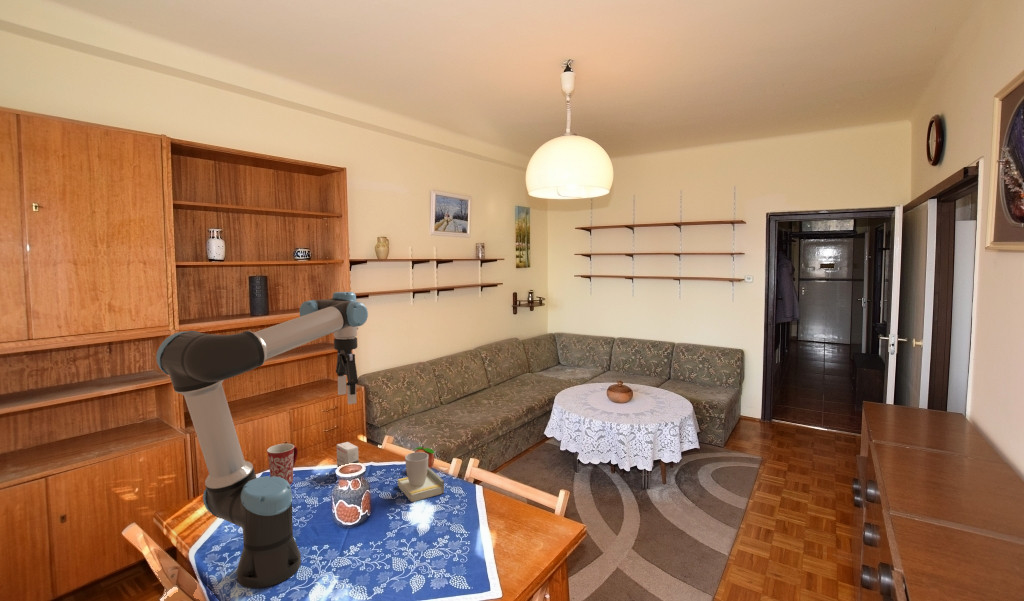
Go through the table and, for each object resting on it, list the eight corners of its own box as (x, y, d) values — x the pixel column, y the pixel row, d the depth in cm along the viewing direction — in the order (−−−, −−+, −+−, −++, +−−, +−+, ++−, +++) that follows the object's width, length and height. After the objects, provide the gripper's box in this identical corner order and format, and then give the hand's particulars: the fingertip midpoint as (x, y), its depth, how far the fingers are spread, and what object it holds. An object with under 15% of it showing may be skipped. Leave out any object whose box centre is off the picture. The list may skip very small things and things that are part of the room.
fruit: (424, 477, 184) (424, 451, 184) (406, 471, 190) (405, 446, 189) (439, 469, 192) (439, 444, 191) (421, 463, 197) (421, 439, 196)
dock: (444, 493, 171) (443, 480, 171) (411, 502, 165) (411, 489, 165) (428, 478, 183) (428, 466, 183) (397, 486, 177) (397, 474, 176)
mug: (283, 490, 173) (281, 453, 172) (262, 487, 176) (261, 451, 175) (307, 475, 185) (306, 441, 184) (287, 472, 188) (286, 438, 187)
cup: (433, 482, 174) (433, 455, 174) (417, 491, 168) (417, 462, 167) (416, 476, 179) (416, 450, 178) (400, 485, 172) (400, 457, 171)
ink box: (359, 476, 185) (359, 446, 184) (347, 480, 181) (347, 450, 180) (348, 470, 191) (347, 440, 190) (336, 474, 187) (335, 444, 186)
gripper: (367, 341, 156) (368, 406, 157) (347, 332, 177) (349, 389, 178) (343, 343, 152) (344, 409, 153) (326, 333, 173) (327, 392, 174)
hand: (347, 398), depth 166 cm, fingers open, 13 cm apart
